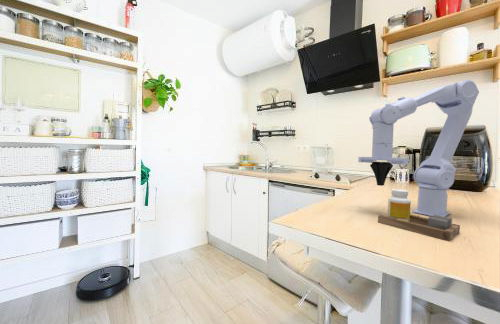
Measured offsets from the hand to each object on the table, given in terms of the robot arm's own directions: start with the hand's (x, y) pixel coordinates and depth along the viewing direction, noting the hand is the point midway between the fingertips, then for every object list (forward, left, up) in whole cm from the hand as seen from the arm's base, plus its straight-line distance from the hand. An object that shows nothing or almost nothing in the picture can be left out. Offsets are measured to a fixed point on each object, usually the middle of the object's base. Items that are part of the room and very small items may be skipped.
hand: (380, 185), depth 72 cm
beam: (+4, +12, -10) cm, 16 cm away
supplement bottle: (+5, +7, -10) cm, 13 cm away
